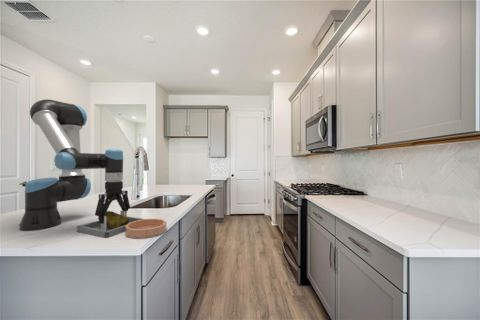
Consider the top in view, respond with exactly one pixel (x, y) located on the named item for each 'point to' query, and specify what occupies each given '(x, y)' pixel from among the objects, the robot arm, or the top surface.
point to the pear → (115, 220)
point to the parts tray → (91, 230)
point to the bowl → (145, 228)
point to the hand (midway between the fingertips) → (113, 226)
